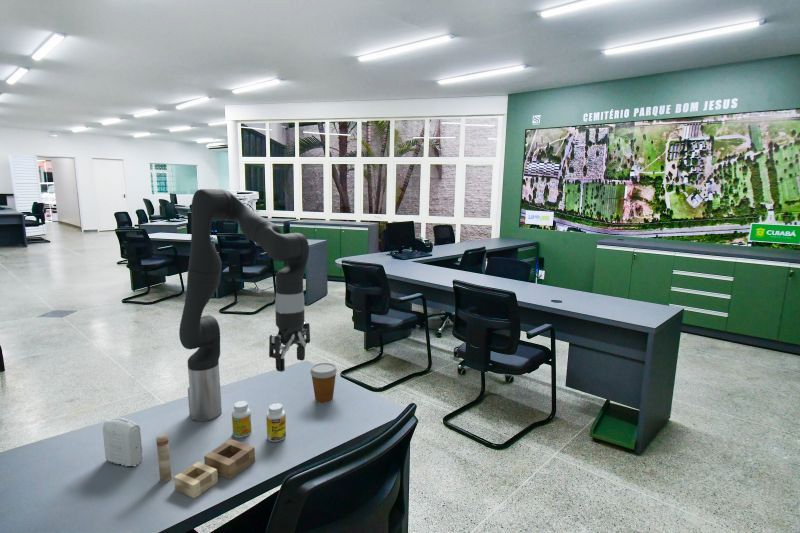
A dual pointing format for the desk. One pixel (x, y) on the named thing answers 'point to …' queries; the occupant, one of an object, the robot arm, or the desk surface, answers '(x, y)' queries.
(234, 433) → the supplement bottle
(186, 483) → the light wood hollow block
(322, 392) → the disposable coffee cup
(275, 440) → the supplement bottle
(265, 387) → the desk surface
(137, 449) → the photo printer
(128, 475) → the desk surface
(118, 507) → the desk surface
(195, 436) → the desk surface
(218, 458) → the brown wooden square frame
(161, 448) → the wooden peg
